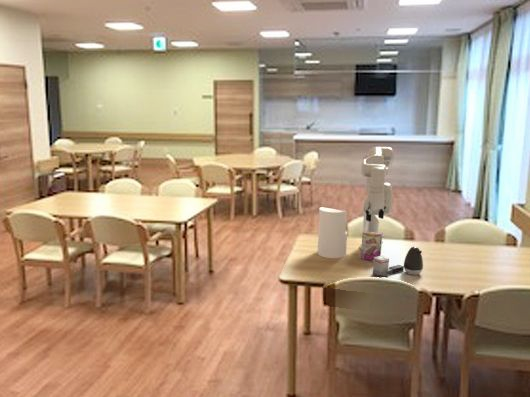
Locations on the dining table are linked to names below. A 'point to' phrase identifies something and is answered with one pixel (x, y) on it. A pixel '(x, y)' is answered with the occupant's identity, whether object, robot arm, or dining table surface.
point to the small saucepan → (389, 271)
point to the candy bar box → (371, 245)
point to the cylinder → (332, 233)
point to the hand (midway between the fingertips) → (374, 219)
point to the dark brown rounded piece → (413, 261)
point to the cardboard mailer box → (380, 264)
